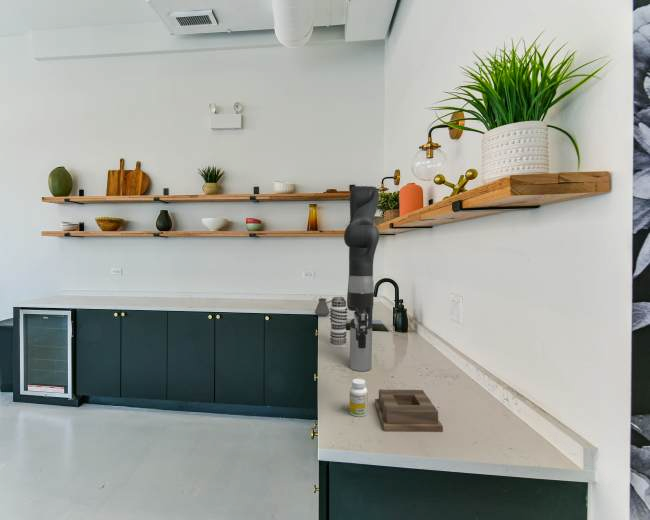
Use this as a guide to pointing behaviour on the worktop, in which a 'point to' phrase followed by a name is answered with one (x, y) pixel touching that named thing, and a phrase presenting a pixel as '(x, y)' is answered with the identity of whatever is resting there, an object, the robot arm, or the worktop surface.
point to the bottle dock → (407, 411)
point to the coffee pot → (322, 308)
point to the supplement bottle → (358, 398)
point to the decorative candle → (338, 322)
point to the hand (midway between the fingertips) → (360, 344)
